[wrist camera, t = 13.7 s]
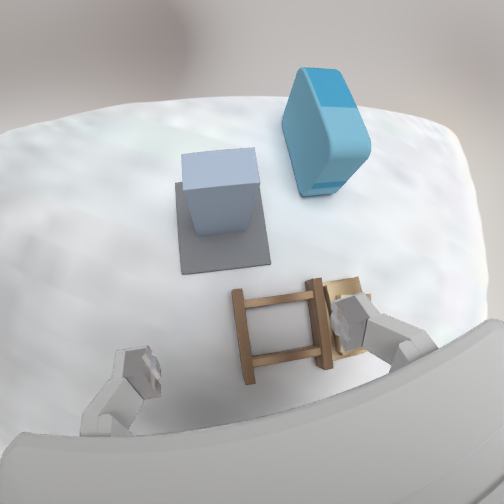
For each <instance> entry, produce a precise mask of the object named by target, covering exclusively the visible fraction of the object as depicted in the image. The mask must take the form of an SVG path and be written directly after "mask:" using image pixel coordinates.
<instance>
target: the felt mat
mask: <svg viewBox="0 0 504 504" xmlns="http://www.w3.org/2000/svg"><path fill="white" fill-rule="evenodd" d="M175 189H176V209H177V224H178V238H179V250H180V262H181V272H182V275H185V274H194V273H203V272H211V271H220V270H228V269H237V268H245V267H254V266H262V265H270V264H271V259H270V253H269V246H268V239H267V233H266V226H265V220H264V213H263V207H262V200H261V194H260V188H259V189H258V192H257V195H256V199H255V202H254V205H253V209H252V212H251V215H250V219H249V222H248V226H247V229H246V231H243V232H233V233H224V234H215V235H206V236H197V233H196V230H195V227H194V224H193V221H192V218H191V214H190V211H189V208H188V205H187V201H186V198H185V195H184V192H183V182H178V183H175Z"/></svg>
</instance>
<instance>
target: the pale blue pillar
mask: <svg viewBox="0 0 504 504" xmlns="http://www.w3.org/2000/svg"><path fill="white" fill-rule="evenodd" d="M181 157H182V179H183V192H184V195H185V198H186V201H187V205H188V208H189V211H190V214H191V218H192V221H193V224H194V227H195V230H196V233H197V236H206V235H215V234H224V233H233V232H243V231H246V229H247V226H248V222H249V219H250V215H251V212H252V209H253V205H254V202H255V199H256V195H257V192H258V189H259V185H260V178H259V172H258V166H257V159H256V154H255V148H240V149H227V150H216V151H206V152H196V153H188V154H181Z"/></svg>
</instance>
